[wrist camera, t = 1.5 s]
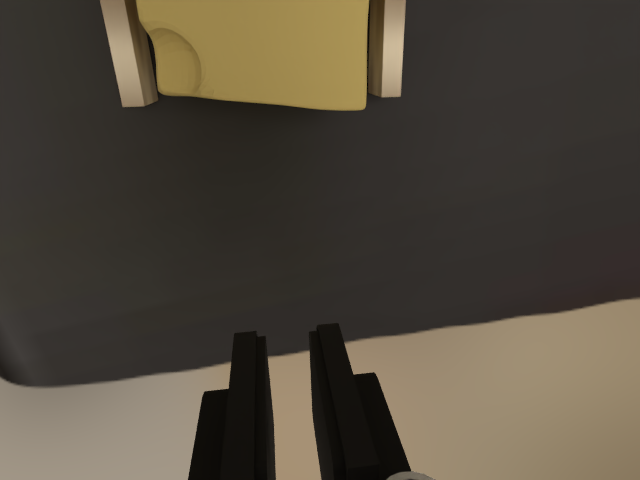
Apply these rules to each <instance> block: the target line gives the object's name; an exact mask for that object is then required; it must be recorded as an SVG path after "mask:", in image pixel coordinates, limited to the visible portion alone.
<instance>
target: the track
mask: <svg viewBox="0 0 640 480" xmlns="http://www.w3.org/2000/svg"><path fill="white" fill-rule="evenodd" d="M100 2H101V7H102V12H103V16H104V21H105V26H106V30H107V35H108V40H109V44H110V49H111V54H112V59H113V63H114V68H115V73H116V77H117V82H118V87H119V91H120V96H121V101H122V106H123V107H137V106H146V105H149V104H151V103H153V102H156V101H158V95H157V90H156V84H155V78H154V73H153V67H152V61H151V56H150V50H149V44H148V39H147V33H146V30H145V29H144V27H143V26H142V24H141V22H140V21H139V16H138V10H137V5H136V0H100ZM405 4H406V0H370V29H369V72H368V93H370V94H373V95H376V96H379V97H400V96H401V78H402V59H403V41H404V22H405Z"/></svg>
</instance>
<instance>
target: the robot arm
mask: <svg viewBox="0 0 640 480" xmlns="http://www.w3.org/2000/svg"><path fill="white" fill-rule="evenodd" d="M309 345H310V368H311V390H312V412H313V423H314V430H315V437H316V444H317V451H318V458H319V465H320V472H321V479H322V480H435V479H433V478H431V477H429V476H427V475H425V474H421V473H417V472H413V471H411V469H410V466H409V464H408V461H407V458H406V455H405V452H404V449H403V447H402V444H401V441H400V438H399V436H398V433H397V430H396V428H395V425H394V422H393V419H392V416H391V414H390V411H389V408H388V405H387V403H386V400H385V397H384V394H383V392H382V389H381V386H380V383H379V380H378V378H377V376H376V374H375V373H374V372H373V373H366V374H356V375H353V372H352V369H351V365H350V362H349V358H348V355H347V351H346V348H345V344H344V341H343V337H342V334H341V330H340V327H339V324H338V323H333V324H323V325H317V331H311V332H309ZM273 421H274V420H273V410H272V399H271V388H270V378H269V368H268V357H267V347H266V337H265V336H261V337H257V331H252V332H242V333H235V334H234V341H233V351H232V361H231V371H230V382H229V389H223V390H214V391H205V392H204V394H203V397H202V402H201V408H200V413H199V419H198V425H197V431H196V437H195V442H194V448H193V454H192V459H191V465H190V472H189V477H188V480H276V473H275V444H274V422H273Z"/></svg>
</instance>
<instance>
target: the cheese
mask: <svg viewBox="0 0 640 480" xmlns="http://www.w3.org/2000/svg"><path fill="white" fill-rule="evenodd" d="M136 5H137V10H138V16H139V21H140V22H141V24H142V26H143V27H144V29H145V30H146V32H147V33H148V34H149V36H150V38H151V40H152V42H153V46H154V50H155V58H156V74H157V86H158V91H159V92H160V93H161V94H164V95H168V96H194V97H201V98H209V99H216V100H226V101H239V102H252V103H264V104H275V105H285V106H294V107H302V108H311V109H321V110H363V109H364V108H365V107H366V93H367V27H368V9H369V0H136Z"/></svg>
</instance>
